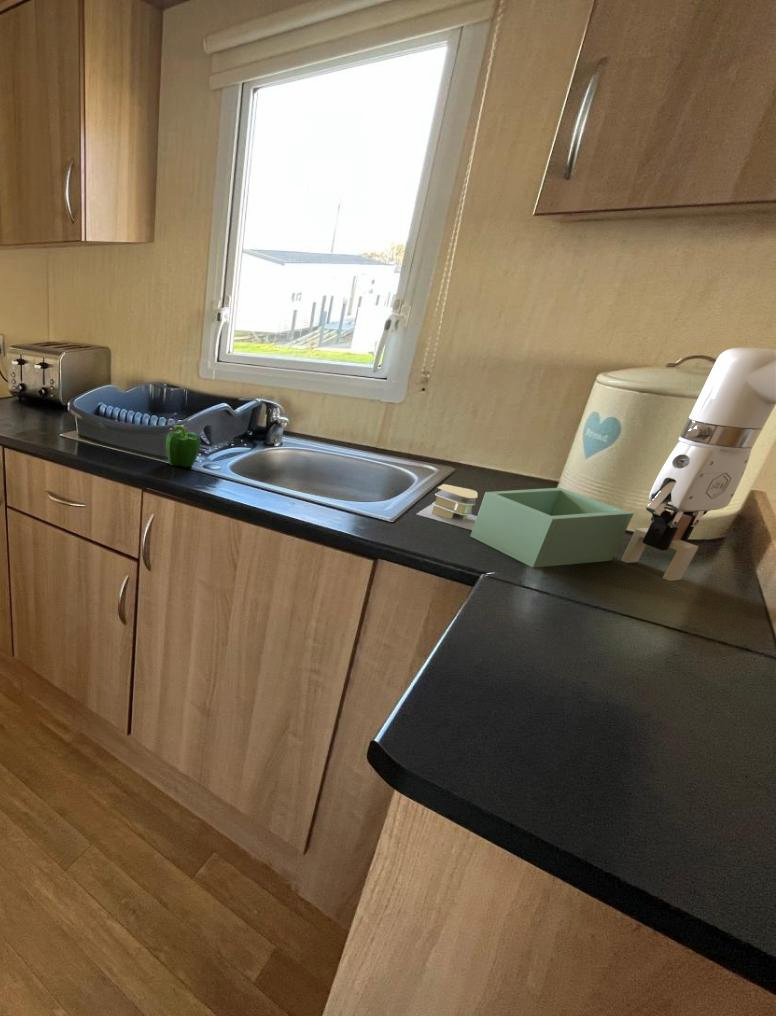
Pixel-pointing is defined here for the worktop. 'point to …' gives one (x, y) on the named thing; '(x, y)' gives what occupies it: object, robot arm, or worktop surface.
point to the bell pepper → (182, 447)
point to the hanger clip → (683, 548)
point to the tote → (550, 526)
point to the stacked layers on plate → (452, 506)
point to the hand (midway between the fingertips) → (662, 545)
